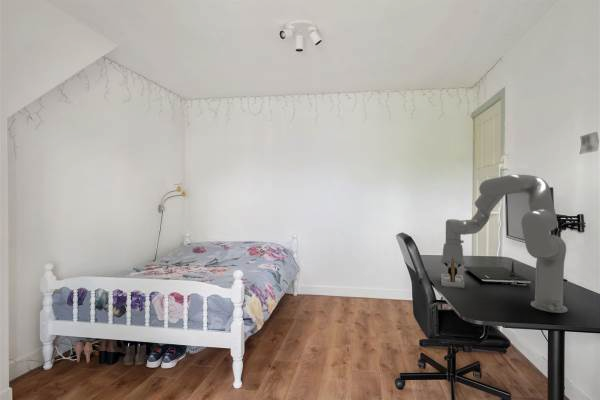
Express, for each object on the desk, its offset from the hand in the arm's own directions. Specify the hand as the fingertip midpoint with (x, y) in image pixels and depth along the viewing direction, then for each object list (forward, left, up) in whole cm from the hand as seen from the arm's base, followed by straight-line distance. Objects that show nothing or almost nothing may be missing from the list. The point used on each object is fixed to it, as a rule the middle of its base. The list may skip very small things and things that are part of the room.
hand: (452, 274), depth 180 cm
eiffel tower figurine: (+15, -31, -5) cm, 34 cm away
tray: (0, 0, -4) cm, 4 cm away
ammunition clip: (0, 0, -3) cm, 3 cm away
